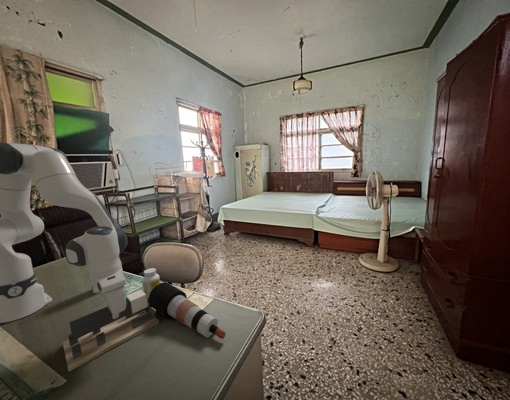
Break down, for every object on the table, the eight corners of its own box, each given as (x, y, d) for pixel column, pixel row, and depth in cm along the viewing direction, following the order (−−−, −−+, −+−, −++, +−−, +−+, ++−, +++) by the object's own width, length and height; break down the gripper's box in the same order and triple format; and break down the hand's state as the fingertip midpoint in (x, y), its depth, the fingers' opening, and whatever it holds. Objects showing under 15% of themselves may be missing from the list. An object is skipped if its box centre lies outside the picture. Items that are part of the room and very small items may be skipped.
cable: (218, 358, 67) (207, 344, 62) (156, 312, 85) (143, 298, 80) (236, 328, 74) (228, 313, 68) (174, 291, 92) (164, 277, 86)
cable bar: (71, 333, 67) (68, 319, 67) (142, 301, 82) (140, 289, 82) (73, 341, 64) (70, 326, 63) (147, 306, 79) (146, 294, 78)
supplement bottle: (164, 293, 97) (161, 266, 95) (158, 302, 90) (154, 273, 89) (149, 294, 97) (145, 267, 95) (142, 303, 90) (138, 274, 88)
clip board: (63, 345, 70) (60, 333, 69) (144, 307, 87) (143, 298, 87) (68, 372, 60) (65, 358, 59) (158, 323, 78) (157, 312, 77)
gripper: (89, 270, 76) (95, 306, 78) (103, 290, 62) (110, 333, 64) (110, 263, 81) (115, 298, 83) (127, 281, 66) (133, 322, 68)
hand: (113, 313), depth 73 cm, fingers closed on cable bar, 4 cm apart
